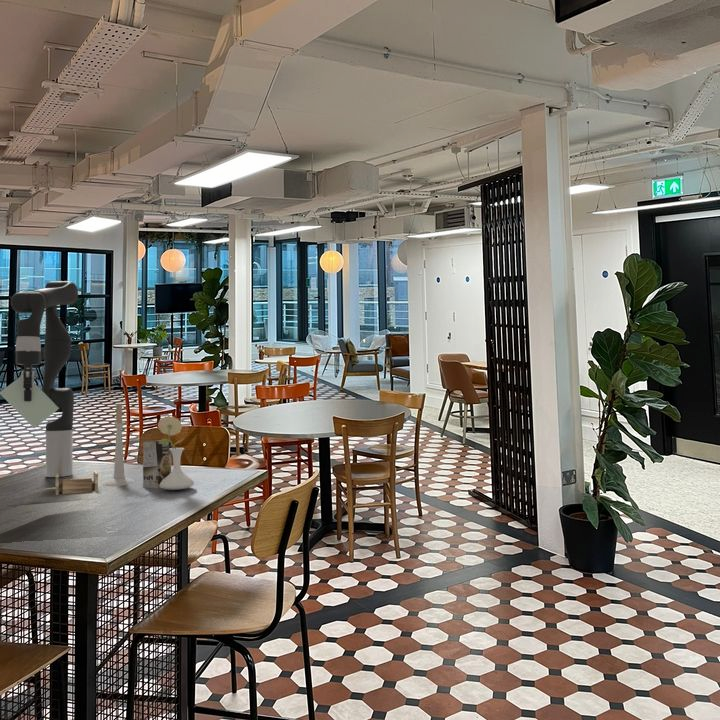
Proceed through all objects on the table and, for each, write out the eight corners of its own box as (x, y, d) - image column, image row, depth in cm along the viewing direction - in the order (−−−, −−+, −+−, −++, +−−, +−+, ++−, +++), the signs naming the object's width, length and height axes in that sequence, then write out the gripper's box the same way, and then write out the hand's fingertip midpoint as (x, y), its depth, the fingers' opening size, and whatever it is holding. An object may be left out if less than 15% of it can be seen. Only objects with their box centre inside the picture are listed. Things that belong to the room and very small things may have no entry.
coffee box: (159, 488, 216) (159, 441, 217) (142, 488, 217) (142, 441, 218) (172, 484, 225) (172, 439, 226) (156, 484, 226) (155, 439, 227)
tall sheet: (34, 428, 214) (-1, 393, 210) (59, 408, 217) (25, 373, 213) (34, 428, 211) (-2, 392, 207) (59, 408, 215) (25, 373, 211)
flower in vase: (200, 487, 216) (200, 414, 218) (182, 492, 205) (182, 415, 207) (167, 486, 220) (167, 415, 221) (148, 491, 209) (147, 416, 210)
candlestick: (145, 484, 227) (144, 401, 229) (112, 489, 217) (112, 402, 219) (124, 482, 235) (124, 402, 236) (92, 486, 224) (92, 402, 226)
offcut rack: (55, 490, 215) (55, 473, 215) (95, 487, 221) (95, 470, 221) (55, 494, 206) (55, 476, 206) (97, 491, 211) (97, 473, 212)
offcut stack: (62, 492, 211) (62, 479, 211) (91, 490, 215) (91, 477, 216) (62, 494, 208) (62, 480, 208) (92, 492, 212) (92, 478, 212)
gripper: (16, 351, 218) (16, 401, 217) (14, 348, 205) (14, 401, 204) (40, 352, 221) (40, 401, 220) (40, 349, 208) (40, 400, 207)
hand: (27, 401), depth 212 cm, fingers closed on tall sheet, 3 cm apart
